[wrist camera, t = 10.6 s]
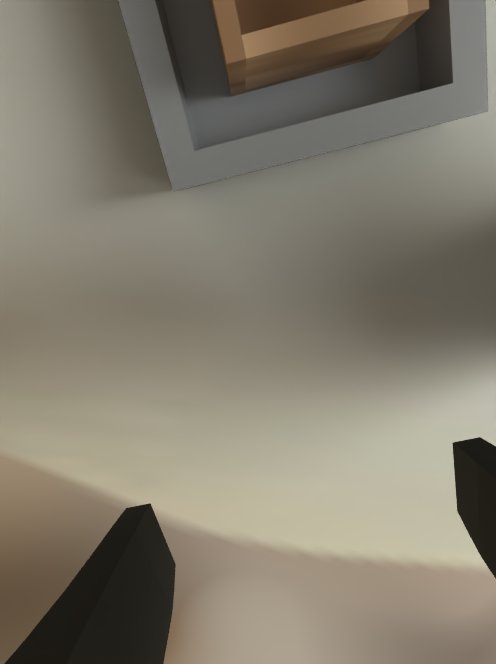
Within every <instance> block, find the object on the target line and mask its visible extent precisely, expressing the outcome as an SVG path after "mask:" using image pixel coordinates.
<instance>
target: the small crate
mask: <svg viewBox="0 0 496 664" xmlns="http://www.w3.org/2000/svg"><path fill="white" fill-rule="evenodd" d="M210 3H211V8H212V12H213V17H214V21H215V26H216V30H217V35H218V39H219V44H220V48H221V53H222V57H223V62H224V66H225V71H226V75H227V80H228V84H229V89H230V93H231V97H232V96H236V95H239V94H243V93H247V92H250V91H254V90H258V89H262V88H265V87H269V86H273V85H277V84H280V83H284V82H288V81H291V80H295V79H299V78H303V77H306V76H310V75H314V74H317V73H321V72H325V71H329V70H332V69H336V68H340V67H343V66H347V65H351V64H355V63H358V62H362V61H366V60H370V59H373V58H374V57H375V56H377V55H378V54H379V53H380V52H381V51H382V50H383V49H384V48H385V47H387V46H388V45H389V44H390V43H391V42H392V41H393V40H394V39H396V38H397V37H398V36H399V35H400V34H401V33H402V32H403V31H405V30H406V29H407V28H408V27H409V26H410V25H411V24H412V23H413V22H415V21H416V20H417V19H418V18H419V17H420V16H421V15H422V14H424V13H425V12H426V11H427V10H428V9H429V0H210Z"/></svg>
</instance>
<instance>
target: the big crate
mask: <svg viewBox="0 0 496 664" xmlns="http://www.w3.org/2000/svg"><path fill="white" fill-rule="evenodd" d="M118 2H119V5H120V9H121V12H122V16H123V19H124V23H125V26H126V30H127V33H128V37H129V40H130V44H131V47H132V51H133V54H134V58H135V61H136V65H137V68H138V72H139V75H140V79H141V82H142V85H143V89H144V92H145V96H146V99H147V103H148V106H149V110H150V113H151V117H152V120H153V124H154V127H155V131H156V134H157V138H158V141H159V145H160V148H161V152H162V155H163V159H164V162H165V166H166V169H167V172H168V176H169V179H170V183H171V186H172V190H173V192H174V191H178V190H182V189H186V188H190V187H194V186H198V185H202V184H206V183H210V182H214V181H218V180H222V179H226V178H230V177H233V176H237V175H241V174H245V173H249V172H253V171H257V170H261V169H265V168H269V167H273V166H277V165H280V164H284V163H288V162H292V161H296V160H300V159H304V158H308V157H312V156H316V155H320V154H324V153H328V152H331V151H335V150H339V149H343V148H347V147H351V146H355V145H359V144H363V143H367V142H371V141H375V140H378V139H382V138H386V137H390V136H394V135H398V134H402V133H406V132H410V131H414V130H418V129H422V128H426V127H429V126H433V125H437V124H441V123H445V122H449V121H453V120H457V119H460V118H464V117H468V116H472V115H476V114H479V113H483V112H487V111H488V84H487V44H486V4H485V0H429V9H428V10H427V11H426V12H425V13H424V14H422V15H421V16H420V17H419V18H418V19H417V20H416V21H415V22H413V23H412V24H411V25H410V26H409V27H408V28H407V29H406V30H405V31H403V32H402V33H401V34H400V35H399V36H398V37H397V38H396V39H394V40H393V41H392V42H391V43H390V44H389V45H388V46H387V47H385V48H384V49H383V50H382V51H381V52H380V53H379V54H378V55H377V56H375V57H374V58H373V59H370V60H366V61H362V62H358V63H355V64H351V65H347V66H343V67H340V68H336V69H332V70H329V71H325V72H321V73H317V74H314V75H310V76H306V77H303V78H299V79H295V80H291V81H288V82H284V83H280V84H277V85H273V86H269V87H265V88H262V89H258V90H254V91H250V92H247V93H243V94H239V95H236V96H232V97H231V93H230V89H229V84H228V80H227V75H226V71H225V66H224V62H223V57H222V53H221V48H220V44H219V39H218V35H217V30H216V26H215V21H214V17H213V12H212V8H211V3H210V0H118Z"/></svg>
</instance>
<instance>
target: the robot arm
mask: <svg viewBox="0 0 496 664" xmlns="http://www.w3.org/2000/svg"><path fill="white" fill-rule="evenodd" d="M453 455H454V469H455V483H456V497H457V511H458V513H459V515H460V517H461V519H462V521H463V523H464V525H465V527H466V529H467V531H468V533H469V535H470V537H471V538H472V540H473V542H474V544H475V546H476V548H477V550H478V552H479V553H480V555H481V557H482V558H483V560H484V561H485V563H486V565H487V566H488V568H489V569H490V571H491V572H492V574H493V575H494V577H495V578H496V446H494V445H492V444H491V443H489V442H487V441H485V440H484V439H482V438H480V437H479V438H474V439H469V440H464V441H459V442H454V443H453ZM174 582H175V562H174V560H173V557H172V555H171V552H170V550H169V548H168V545H167V543H166V540H165V538H164V536H163V533H162V531H161V528H160V526H159V523H158V521H157V518H156V516H155V514H154V511H153V509H152V506H151V504H145V505H140V506H135V507H130V508H126V510H125V511H124V512H123V513H122V514H121V516H120V517H119V518H118V520H117V521H116V523H115V524H114V525H113V526H112V528H111V529H110V531H109V532H108V533H107V535H106V536H105V537H104V539H103V540H102V542H101V543H100V544H99V546H98V547H97V548H96V550H95V551H94V552H93V554H92V555H91V556H90V558H89V559H88V560H87V562H86V563H85V565H84V566H83V567H82V568H81V570H80V571H79V573H78V574H77V575H76V576H75V578H74V579H73V580H72V582H71V583H70V585H69V586H68V587H67V588H66V590H65V591H64V592H63V594H62V595H61V596H60V597H59V599H58V600H57V601H56V602H55V604H54V605H53V606H52V607H51V608H50V610H49V611H48V612H47V613H46V615H45V616H44V617H43V618H42V620H41V621H40V622H39V623H38V624H37V626H36V627H35V628H34V629H33V631H32V632H31V633H30V635H29V636H28V637H27V638H26V640H25V641H24V642H23V643H22V644H21V645H20V646H19V648H18V649H17V650H16V651H15V652H14V653H13V655H12V656H11V657H10V658H9V659H8V660H7V661H6V663H5V664H163V662H164V656H165V651H166V645H167V640H168V634H169V628H170V622H171V616H172V609H173V596H174Z"/></svg>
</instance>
